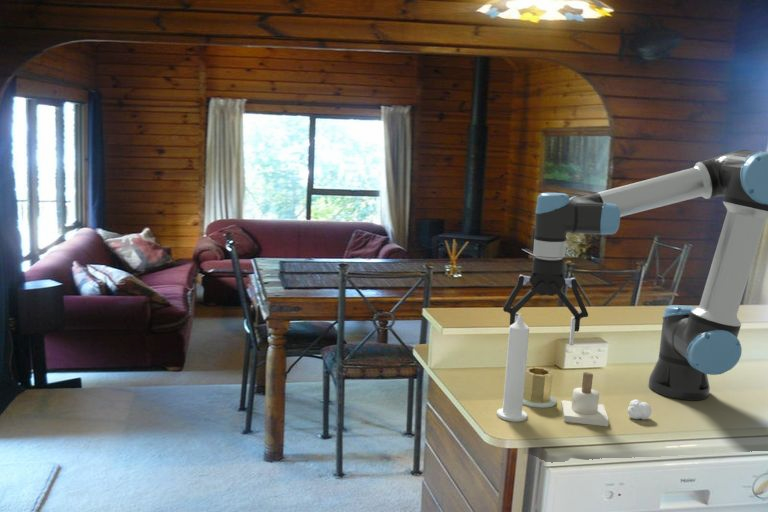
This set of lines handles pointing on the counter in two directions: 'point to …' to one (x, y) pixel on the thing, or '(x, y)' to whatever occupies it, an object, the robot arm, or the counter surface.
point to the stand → (585, 405)
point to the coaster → (541, 405)
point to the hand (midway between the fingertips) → (543, 341)
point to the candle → (515, 372)
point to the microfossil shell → (639, 410)
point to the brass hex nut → (537, 385)
